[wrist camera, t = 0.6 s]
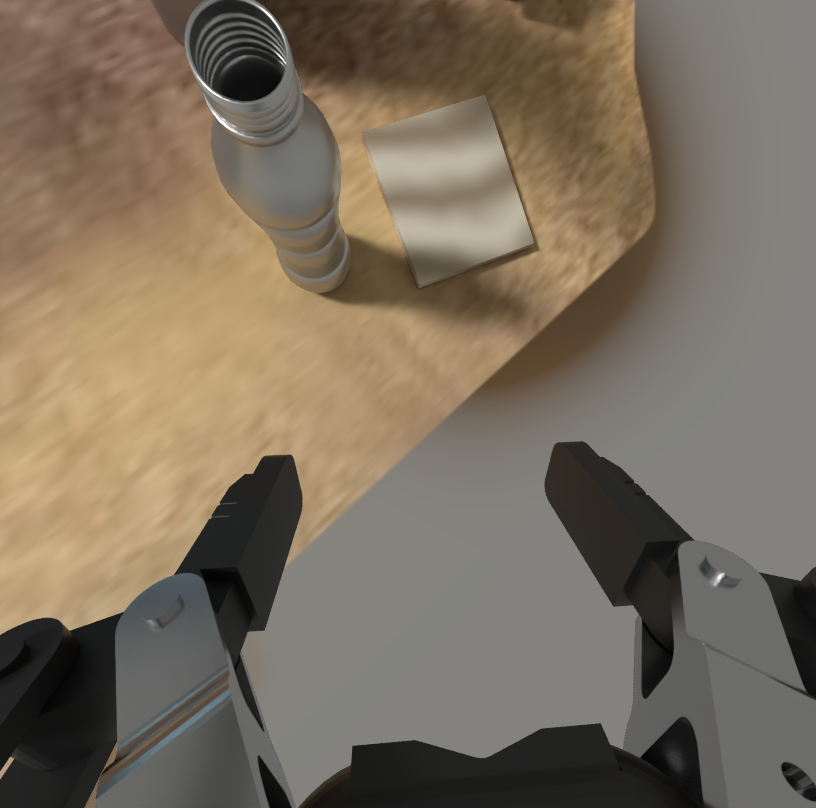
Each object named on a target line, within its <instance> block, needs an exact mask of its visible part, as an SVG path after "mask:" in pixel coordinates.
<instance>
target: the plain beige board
mask: <svg viewBox="0 0 816 808" xmlns="http://www.w3.org/2000/svg"><path fill="white" fill-rule="evenodd" d="M362 137H363V144H364V147H365V150H366V152H367V155H368V158H369V160H370V163H371V166H372V168H373V171H374V173H375V176H376V179H377V181H378V184H379V187H380V189H381V192H382V195H383V197H384V200H385V202H386V205H387V208H388V210H389V213H390V216H391V218H392V221H393V224H394V226H395V229H396V231H397V234H398V237H399V239H400V242H401V245H402V247H403V250H404V253H405V255H406V258H407V261H408V263H409V266H410V268H411V271H412V274H413V276H414V279H415V282H416V284H417V287H418V289H420V288H422V287H425V286H428V285H430V284H433V283H436V282H438V281H441V280H444V279H447V278H449V277H452V276H455V275H457V274H460V273H463V272H465V271H468V270H471V269H473V268H476V267H479V266H481V265H484V264H487V263H489V262H492V261H495V260H497V259H500V258H503V257H506V256H508V255H511V254H514V253H516V252H519V251H522V250H524V249H527V248H529V247H530V246H531V245H533V244H534V240H533V237H532V234H531V231H530V228H529V225H528V222H527V219H526V216H525V213H524V210H523V207H522V204H521V201H520V198H519V195H518V192H517V189H516V186H515V183H514V180H513V177H512V174H511V171H510V168H509V165H508V162H507V159H506V156H505V153H504V149H503V146H502V143H501V140H500V137H499V134H498V131H497V128H496V125H495V122H494V119H493V116H492V113H491V110H490V107H489V104H488V101H487V98H486V95H481V96H478V97H475V98H472V99H468V100H465V101H462V102H459V103H455V104H452V105H449V106H446V107H442V108H439V109H436V110H433V111H429V112H426V113H423V114H420V115H416V116H413V117H410V118H407V119H403V120H400V121H397V122H394V123H390V124H387V125H384V126H381V127H377V128H374V129H371V130H368V131H364V132H362Z"/></svg>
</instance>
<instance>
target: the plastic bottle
mask: <svg viewBox="0 0 816 808" xmlns="http://www.w3.org/2000/svg"><path fill="white" fill-rule="evenodd" d="M185 49H186V55H187V58H188V61H189V64H190V67H191V69H192V72H193V74H194V76H195V78H196V80H197V81H198V83H199V85H200V87H201V89H202V91H203V95H204V98H205V101H206V103H207V105H208V107H209V109H210V111H211V113H212V114H213V116H214V117H213V122H212V127H211V147H212V152H213V157H214V161H215V165H216V169H217V172H218V175H219V177H220V180H221V182H222V184H223V186H224V188H225V189H226V191H227V193H228V194H229V195H230V196H231V198H232V199H233V200H234V201H235V202H236V203H237V205H238V206H239V207H240V208H241V209H242V210H243V212H244V213H246V214H247V215H248V216H249V217H250V218H251V219H252V220H253V221H254V222H255V223H256V224H258V225H259V226H260V227H261V228H262V229H263V230H264V231H265V233H266V234H267V235H268V236H269V237H270V239H271V240H272V242H273V244H274V246H275V248H276V252H277V256H278V259H279V262H280V264H281V267H282V269H283V271H284V273H285V274H286V276H287V277H288V278H289V279H290V280H291V281H292V282H293V283H295V284H296V285H297V286H299V287H301V288H303V289H305V290H307V291H310V292H313V293H325V292H329V291H332V290H333V289H335V288H337V287H338V286H339V285H340V284H341V283H342V282H343V281H344V279H345V278H346V275H347V273H348V271H349V268H350V263H351V249H350V245H349V242H348V239H347V236H346V234H345V232H344V230H343V228H342V227H341V224H340V220H339V207H338V204H339V195H340V186H341V159H340V152H339V148H338V145H337V142H336V139H335V136H334V134H333V132H332V131H331V129H330V127H329V125H328V123H327V121H326V119H325V117H324V115H323V114H322V112H321V111H320V110H319V109H318V107H317V106H316V105H315V103H313V102H312V101H311V100H310V99H309V98H308V97H307V96H306V95H305V94H304V93H303V92H302V87H301V82H300V79H299V76H298V73H297V70H296V68H295V66H294V62H293V57H292V52H291V48H290V45H289V42H288V40H287V37H286V35H285V32H284V30H283V29H282V27H281V25H280V23H279V22H278V21H277V19H276V18H275V17H274V15H273V14H272V13H271V12H270V11H269V10H268V9H266V8H265V7H264V6H263V5H261V4H260V3H258V2H257V1H255V0H204V1H203V2H202V3H200V4H199V5H198V6H197V7H196V8H195V10H194V11H193V12H192V14H191V15H190V18H189V20H188V22H187V25H186V30H185Z"/></svg>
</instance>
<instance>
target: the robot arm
mask: <svg viewBox="0 0 816 808" xmlns="http://www.w3.org/2000/svg"><path fill="white" fill-rule="evenodd" d="M203 1H204V0H151V2H152V3H153V5H154V7H155V9H156V11H157V12H158V14H159V16H160V18H161V20H162V21H163V23H164V24H165V26H166V27H167V29H168V30H169V32H170V33H171V34H172V35H173V36H174V37H175V38H176V39H177V40H178V41H179V42H180V43H181V44H183V45H184V46H185V30H186V25H187V22H188V20H189V18H190V15H191V14H192V12H193V11H194V10H195V8H196V7H197V6H198V5H199V4H200V3H202V2H203ZM255 1H257V2H258V3H260V4H261V5H263V6H264V7H265V4H264V0H255ZM545 492H546V496H547V498H548V501H549V502H550V504H551V506H552V507H553V509H554V510H555V512H556V514H557V515H558V517H559V519H560V520H561V522H562V524H563V525H564V527H565V528H566V530H567V532H568V533H569V535H570V537H571V538H572V540H573V541H574V543H575V544H576V546H577V548H578V549H579V551H580V553H581V555H582V556H583V557H584V559H585V561H586V562H587V564H588V566H589V567H590V569H591V571H592V572H593V574H594V576H595V577H596V579H597V580H598V582H599V584H600V585H601V587H602V589H603V590H604V592H605V594H606V595H607V597H608V598H609V600H610V602H611V603H612V605H613V606H614V607H615V606H627V605H633V606H634V608H635V609H636V610H637V612H638V613H639V615H638V616H637V618H636V621H635V647H634V684H633V685H634V686H633V705H632V711H631V715H630V718H629V721H628V724H627V729H626V732H625V738H624V746H623V750H622V749H620V748H618V747H615V746H613V745H610V744H609V741H608V739H607V737H606V734H605V732H604V730H603V728H602V725H601V724H600V723H599V724H588V725H578V726H567V727H555V728H545V729H540V730H538V731H536V732H535V733H533V734H531V735H529V736H527V737H525V738H523V739H522V740H520V741H518V742H516V743H514V744H512V745H510V746H508V747H506V748H505V749H503V750H501V751H499V752H497V753H495V754H493V755H492V756H490V757H487V758H475V757H472V756H468V755H465V754H462V753H458V752H454V751H451V750H447V749H444V748H440V747H437V746H433V745H430V744H427V743H423V742H419V741H416V740H412V741H401V742H391V743H380V744H369V745H358V746H353V747H352V762H351V765H350V766H348V767H346V768H344V769H342V770H340V771H339V772H337V773H336V774H334V775H333V776H332V777H330V778H329V779H327V780H326V781H324V782H323V783H322V784H321V785H320V786H319V787H318V788H317V789H316V790H314V791H313V792H312V793H311V794H310V795H309V796H308V797H307V798H306V799H305V801H304V802H303V803H302V804H301V805H300V806H299V807H298V808H816V567H815V568H813V569H812V570H811V571H810V572H809V573H808V574H807V575H806V576H805V577H804V578H803V579H802V580H801V581H798V580H793V579H788V578H783V577H778V576H773V575H769V574H764V573H760V572H758V571H756V570H755V569H754V568H753V567H752V566H751V565H750V564H748V563H747V562H746V561H745V560H743V559H742V558H740V557H739V556H737V555H735V554H734V553H732V552H730V551H728V550H726V549H724V548H722V547H719V546H717V545H714V544H711V543H707V542H702V541H695V540H694V539H692V537H690V536H689V534H688V533H686V532H685V531H684V530H683V529H682V528H681V527H680V526H679V525H678V524H677V523H676V522H675V521H674V520H673V519H672V518H671V517H670V516H669V515H668V514H667V513H666V512H665V511H664V510H663V509H662V508H661V507H660V506H659V505H658V504H657V503H656V502H655V501H654V500H653V499H652V498H651V497H650V496H649V495H646V494H645V491H644V490H643V489H642V488H641V487H640V486H639V485H638V484H635V483H634V480H633V479H632V478H631V477H629V475H628V474H627V473H625V471H624V470H623V469H621V468H620V467H619V466H617V465H615V464H614V463H612V462H610V461H609V460H607V459H605V458H604V457H599V456H598V455H597V454H596V453H595V452H594V450H592V448H590V446H589V445H588V444H587V443H585V442H583V441H580V442H558V443H556V444H555V445H554V447H553V451H552V455H551V459H550V463H549V466H548V470H547V474H546V478H545ZM301 511H302V491H301V487H300V483H299V479H298V475H297V470H296V466H295V462H294V459H293V456H292V455H272V456H264V457H263V458H262V459H261V461H260V462H259V464H258V466H257V468H256V469H255V471H254V473H253V474H244V475H243V476H242V477H241V478H240V479H239V480H237V481H236V482H235V483H234V484H233V485H232V486H230V487H229V489H228V490H227V492H226V493H225V495H224V497H223V498H222V500H221V501H220V505H219V506H217V508H216V509H215V511H214V513H213V514H212V518H211V519H209V520H208V522H207V524H206V525H205V527H204V528H203V530H202V532H201V533H200V535H199V536H198V538H197V539H196V541H195V543H194V544H193V546H192V547H191V549H190V551H189V552H188V554H187V555H186V557H185V559H184V560H183V562H182V563H181V565H180V566H179V568H178V570H177V571H176V573H175V574H174V575H173V576H170V577H167V578H165V579H163V580H161V581H159V582H157V583H155V584H153V585H152V586H150V587H149V588H148V589H146V590H145V591H144V592H142V593H141V594H140V595H139V596H138V597H137V598H136V599H135V600H134V601H133V602H132V603H131V604H130V605H129V606H128V607H127V609H126V610H125V611H124V612H122V613H120V614H117V615H114V616H111V617H108V618H105V619H102V620H100V621H97V622H94V623H91V624H88V625H85V626H82V627H80V628H77V629H74V630H71V631H69V630H68V629H67V628H66V627H65V626H64V625H63V624H62V623H61V622H60V621H59V620H57V619H54V618H41V619H36V620H32V621H29V622H26V623H23V624H21V625H19V626H16V627H14V628H12V629H10V630H8V631H6V632H5V633H3V634H1V635H0V771H1V769H2V768H3V766H4V765H5V763H6V762H7V760H8V759H9V758H10V756H11V757H12V758H14V760H13V762H12V763H11V765H10V766H9V768H8V769H7V770H6V772H5V773H4V775H3V776H2V778H1V779H0V808H84V807H85V805H86V803H87V801H88V799H89V797H90V795H91V793H92V791H93V789H94V787H95V785H96V783H97V781H98V779H99V777H100V775H101V773H102V771H103V769H104V766H105V765H106V763H107V760H108V758H109V756H110V754H111V752H112V750H113V748H114V746H115V744H116V742H117V754H116V758H115V760H114V762H113V763H112V764H110V765H109V766H108V767H106V769H105V770H104V771H103V773H102V775H101V777H100V779H99V782H98V787H97V791H96V800H95V808H296V806H295V803H294V800H293V797H292V794H291V791H290V788H289V785H288V782H287V779H286V777H285V774H284V771H283V769H282V766H281V763H280V761H279V758H278V756H277V754H276V752H275V749H274V747H273V744H272V741H271V739H270V737H269V733H268V730H267V728H266V724H265V721H264V718H263V715H262V712H261V709H260V706H259V703H258V700H257V697H256V694H255V691H254V688H253V685H252V682H251V679H250V676H249V673H248V670H247V667H246V663H245V660H244V657H243V655H242V652H241V649H242V646H243V644H244V641H245V638H246V635H247V632H249V631H263V630H265V627H266V624H267V621H268V618H269V615H270V611H271V608H272V605H273V602H274V599H275V595H276V592H277V589H278V586H279V582H280V579H281V576H282V573H283V570H284V566H285V563H286V560H287V557H288V554H289V550H290V547H291V544H292V541H293V538H294V534H295V531H296V528H297V525H298V521H299V518H300V515H301Z"/></svg>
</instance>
